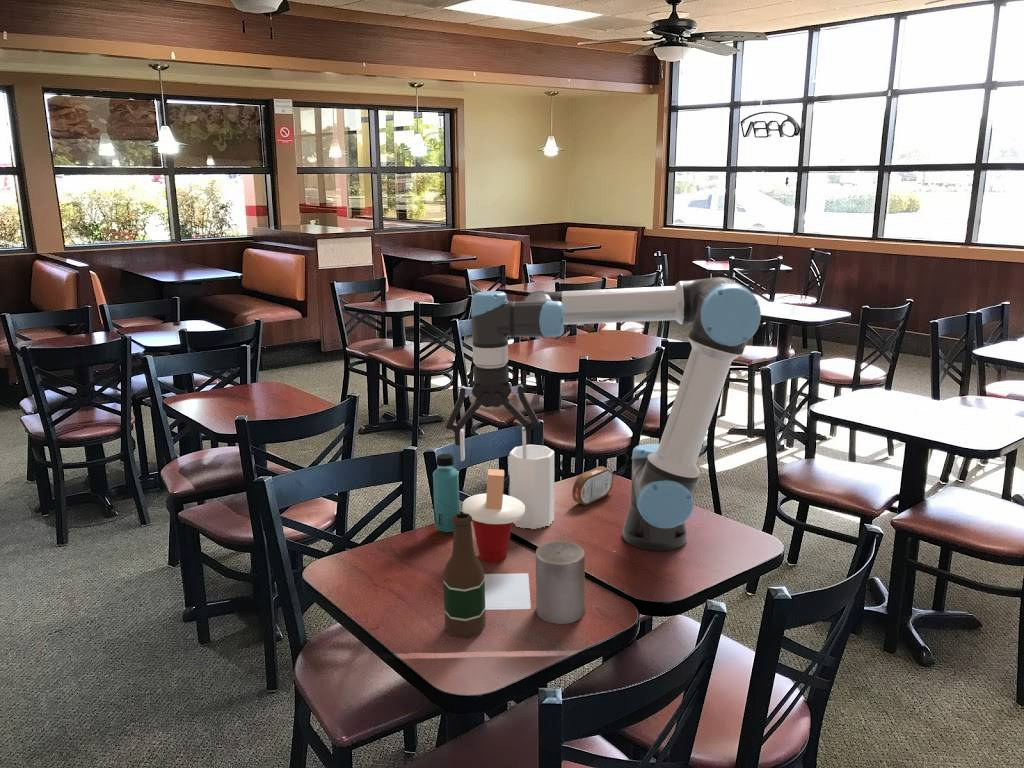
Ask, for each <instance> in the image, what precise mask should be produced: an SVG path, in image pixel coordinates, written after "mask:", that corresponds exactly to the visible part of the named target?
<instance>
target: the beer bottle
mask: <svg viewBox="0 0 1024 768" xmlns="http://www.w3.org/2000/svg"><path fill="white" fill-rule="evenodd" d="M452 522H453V523H454V531H453V535H452V537H453V538H452V553H451V556H450V558H449V560H448V561H447V563H446V564H445V567H444V571H443V578H442V579H443V580H442V581H443V601H444V602H443V606H444V609H443V612H444V625H445V631H447V632H448V634H449V635H450V636H451V637H454V638H455V637H456V638H461V639H464V640H465V639H469V638H472V637H476V636H480V635H481V634H482V632H483V631H484V629H485V628H486V610H485V578H484V574H485V569H484V567H483V565H482V563H481V561H480V559H479V558H478V557H477V556H476V554H475V553H476V552H475V549H474V541H473V539H474V538H473V529H472V523H473V520H472V517H471V515H469V514H467V513H463V512H460V513H459V514H456V515H455V516H454V517H453V520H452Z"/></svg>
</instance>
